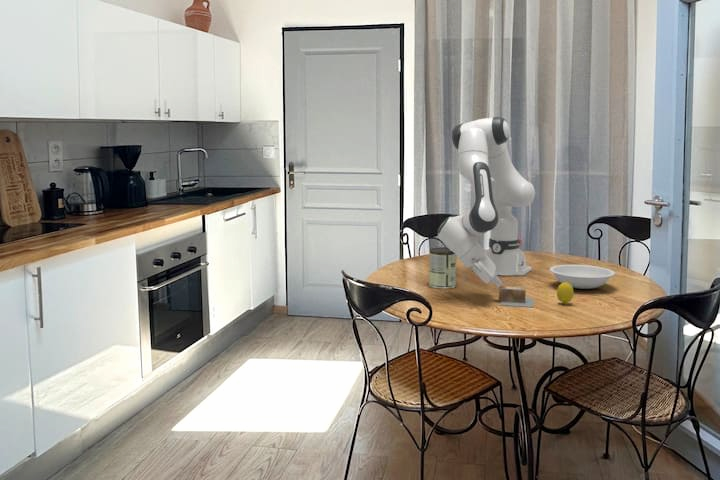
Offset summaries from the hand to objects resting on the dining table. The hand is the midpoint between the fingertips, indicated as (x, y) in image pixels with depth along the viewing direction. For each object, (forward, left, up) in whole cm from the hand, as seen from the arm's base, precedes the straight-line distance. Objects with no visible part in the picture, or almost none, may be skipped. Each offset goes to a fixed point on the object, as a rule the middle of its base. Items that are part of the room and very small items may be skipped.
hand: (500, 285), depth 265 cm
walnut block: (0, 0, -3) cm, 3 cm away
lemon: (-10, +20, -6) cm, 23 cm away
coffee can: (-7, -28, -6) cm, 30 cm away
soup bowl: (-39, +14, -6) cm, 42 cm away
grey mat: (-3, +5, -6) cm, 8 cm away
